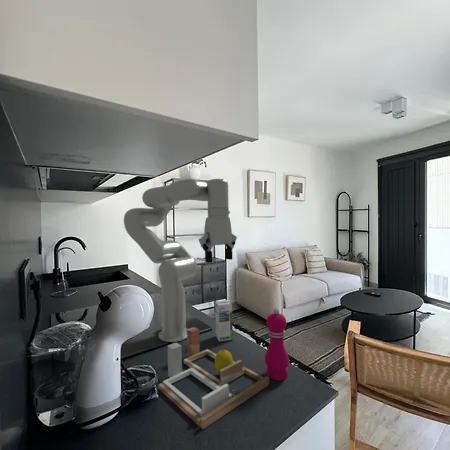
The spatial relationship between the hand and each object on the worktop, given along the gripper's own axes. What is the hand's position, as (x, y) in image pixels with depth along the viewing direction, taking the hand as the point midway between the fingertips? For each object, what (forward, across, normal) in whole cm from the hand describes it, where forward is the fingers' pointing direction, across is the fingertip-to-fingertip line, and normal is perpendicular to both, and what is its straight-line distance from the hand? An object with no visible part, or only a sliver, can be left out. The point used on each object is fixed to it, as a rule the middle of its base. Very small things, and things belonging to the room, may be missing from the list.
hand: (219, 260), depth 97 cm
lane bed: (+32, +16, +14) cm, 39 cm away
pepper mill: (+32, -2, +24) cm, 40 cm away
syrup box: (+32, -7, -6) cm, 34 cm away
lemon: (+32, +10, +13) cm, 37 cm away
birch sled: (+32, +10, +7) cm, 34 cm away
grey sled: (+32, +21, +13) cm, 41 cm away
